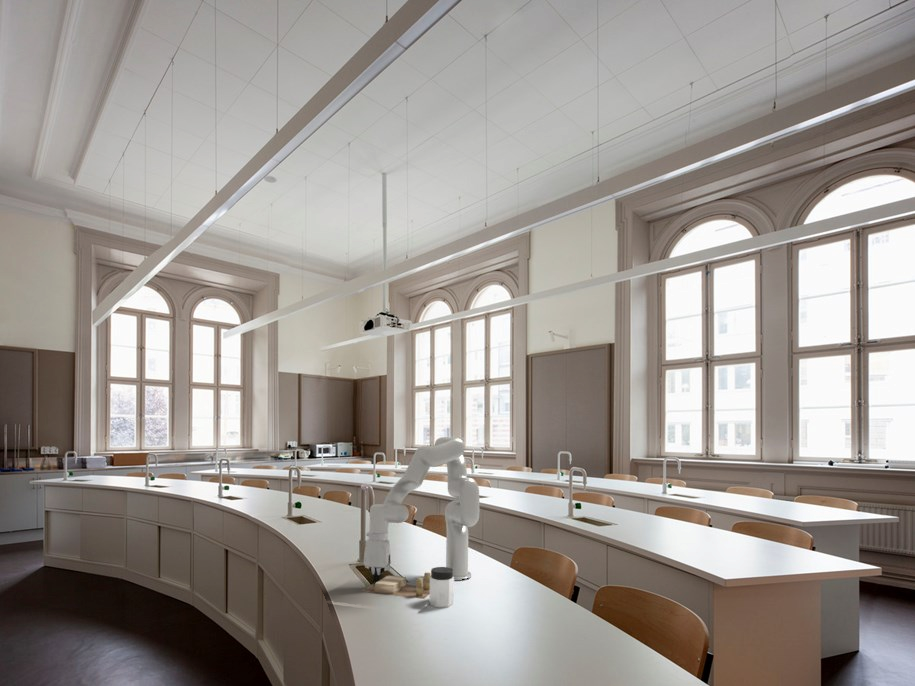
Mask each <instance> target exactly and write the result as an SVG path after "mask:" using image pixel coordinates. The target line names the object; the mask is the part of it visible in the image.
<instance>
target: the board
mask: <svg viewBox="0 0 915 686" xmlns="http://www.w3.org/2000/svg"><path fill="white" fill-rule="evenodd" d="M423 574H424V576H423V577H417V578H416V580H415V581H416V583H415V584H416V585H413V584H406V586H404V587H403V588H401V589H400V590H398V591H397V592H395V593H394V594H390V593H381V592H374V589H375V585H373V583H372V584H370V585H369V586H367V587H365V588H363V589H362V590H361V592H367V593H373V594H381V595H382V594H383V595H389V596H390V595H392V596H396V597H397V596H399V597H406V598H407V597H408V598H414V599H423V600H424V599H425V598H427V597H428V596H429V593H430V577H431V572H424V573H423Z"/></svg>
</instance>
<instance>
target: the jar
mask: <svg viewBox="0 0 915 686" xmlns="http://www.w3.org/2000/svg"><path fill="white" fill-rule="evenodd" d="M454 585H455V580H454V577H453V569H451V568H448V567H446V566H437V567H432V568H431V570H430V593H429V595H428V596H429V597H428V598H429V599H428V600H429V602H428V604H429V605H430V606H433V607H435V608H449V607H451V606H452V605H453V604H454V601H455V600H454V597H455V596H454V595H455V594H454V592H455V591H454V590H455V588H454V587H455V586H454Z"/></svg>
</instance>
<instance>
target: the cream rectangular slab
mask: <svg viewBox="0 0 915 686" xmlns="http://www.w3.org/2000/svg"><path fill="white" fill-rule="evenodd" d="M406 585H407V577H405V576H397V575H386V576H385V577H383V578H381V580H380V581H378V582H376V583H375V589H374V592H381V593H390V594H394V593H395V592H397V591H398V590H400V589H401V588H403V587H404V586H406ZM381 593H380V594H381Z"/></svg>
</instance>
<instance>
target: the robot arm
mask: <svg viewBox="0 0 915 686" xmlns="http://www.w3.org/2000/svg"><path fill="white" fill-rule="evenodd" d="M465 450H466V445H465V442H464V441H463V440H462V439H461V438H458V437H449V436H443V437H439V438H437V439H436V440H435V441H434V446H432V445H421V446H419V447H418V448H417V449H416V450H415V452H414V454H413V456H412V458H411V460H410V461H409V464H408V466H407V468H406V469H405V471H404V473H403V475H402V477H401V478H400V479H399V480H397V482H396V483H395V484H394V485H393V486H392V487H391V489H390V490H389V491H388V493H387V496H386V497H385V499H384V501H383V503H380V504H379V503H378V504H377V503H375V504H372V505H371V506H370V508H369V526H368V527H369V531H368V532H366V534H365V536H366V537H368V539H367V540H366V541H365V547H364V554H363V565H364V568H366V569H368V570H370V572H371V575H372V584H373V585H375V583H376V582H378V581H380V580H381V579H382V574H384V572H386V571H390V570H391V562H392V559H391V558H392V553H391V551H392V550H391V542H390V539H388V538H389V523H390V524H392V523H393V524H401V523H404V522H405V521H407V520H408V519H409V517H410V516H409V515H410V511H409V509H408V507H407V506H406V504H405V505H404V504H402V503H403V500H404V499H405V497H406V496H408V494H409V493H411V492H412V491H413V492H414V491H415V490H416V489H418V488H420V487H421V486H422V484H423V483H424V481H425V478H426V476H427V474H428V472H429V470H430V468H431V467H432V468H436V467H441V466H442V465H445V464H446V469H447V492H448V495H450V496H451V497H453V498H456V499H459V500H453V501H452V500H451V501H450V502H448V503H447V505H446V506H445V510H444V518H445V519H444V520H445V525H446V544H445V546H446V547H445V549H446V551H445V553H446V555H445V556H446V557H445V567H448V568H451V569H453V577H454V581H463V580H462V579H465V580H468V579H467V578H469V579H471V578H470V577H472V573H471V572H470V571H469V529H468V528H471V527H475V525H477V523H478V522H479V518H480V512H481V511H480V488H479V485H478V483H477V481H476V480H475V479H474V478H472V477H468V474H467V473H468V472H467V460H466V458H465V456H464V454H465Z"/></svg>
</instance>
